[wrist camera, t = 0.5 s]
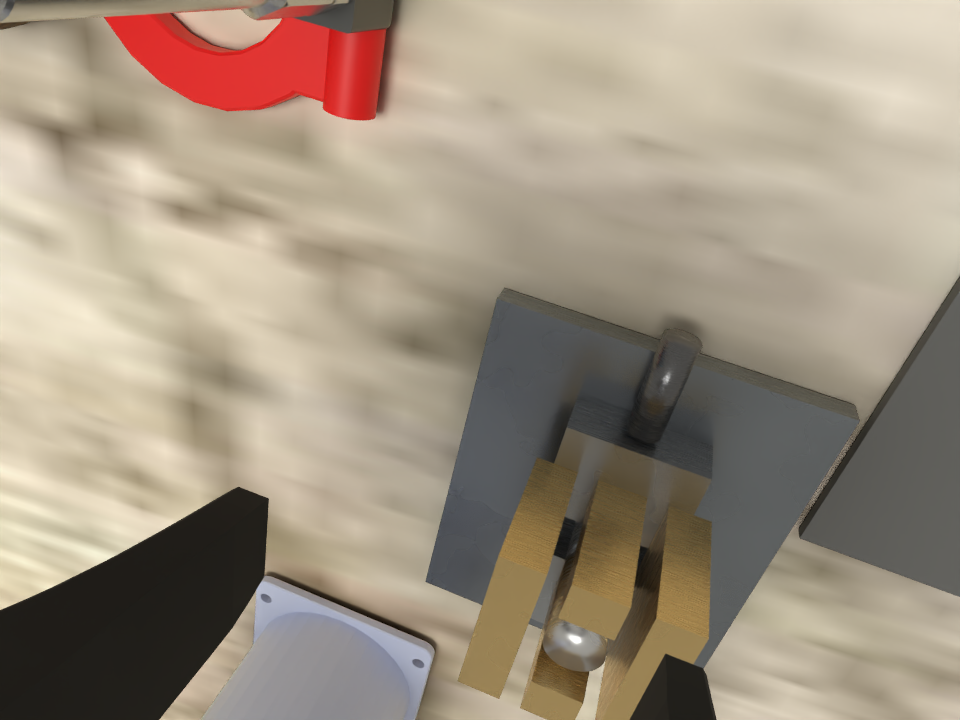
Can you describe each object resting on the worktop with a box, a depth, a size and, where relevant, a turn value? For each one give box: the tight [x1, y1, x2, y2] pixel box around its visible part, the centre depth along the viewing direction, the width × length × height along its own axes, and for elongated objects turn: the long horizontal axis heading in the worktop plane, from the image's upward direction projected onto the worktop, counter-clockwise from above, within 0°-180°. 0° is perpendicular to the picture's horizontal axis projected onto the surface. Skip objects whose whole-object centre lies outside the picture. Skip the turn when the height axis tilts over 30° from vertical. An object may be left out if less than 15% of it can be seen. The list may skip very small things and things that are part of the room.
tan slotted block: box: [458, 457, 712, 720], centre depth 19 cm, size 5×5×4 cm
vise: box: [426, 288, 860, 672], centre depth 20 cm, size 13×10×6 cm
